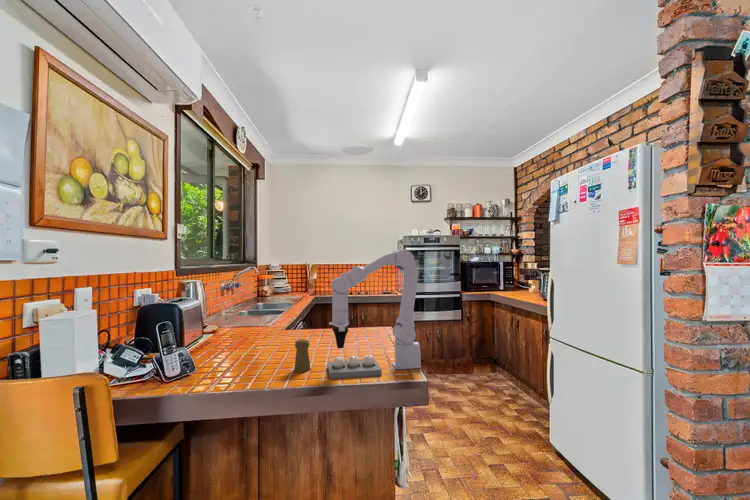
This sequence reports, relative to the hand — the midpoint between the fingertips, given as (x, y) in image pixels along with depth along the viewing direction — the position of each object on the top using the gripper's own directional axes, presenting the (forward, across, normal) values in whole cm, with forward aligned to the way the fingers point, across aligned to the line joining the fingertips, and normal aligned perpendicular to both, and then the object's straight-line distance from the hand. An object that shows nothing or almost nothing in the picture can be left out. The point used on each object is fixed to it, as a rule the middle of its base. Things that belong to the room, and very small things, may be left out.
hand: (340, 347), depth 133 cm
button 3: (+7, 0, -1) cm, 7 cm away
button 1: (+7, 0, +10) cm, 12 cm away
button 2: (+7, 0, +5) cm, 8 cm away
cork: (+9, -6, -14) cm, 17 cm away
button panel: (+9, 0, +5) cm, 10 cm away
